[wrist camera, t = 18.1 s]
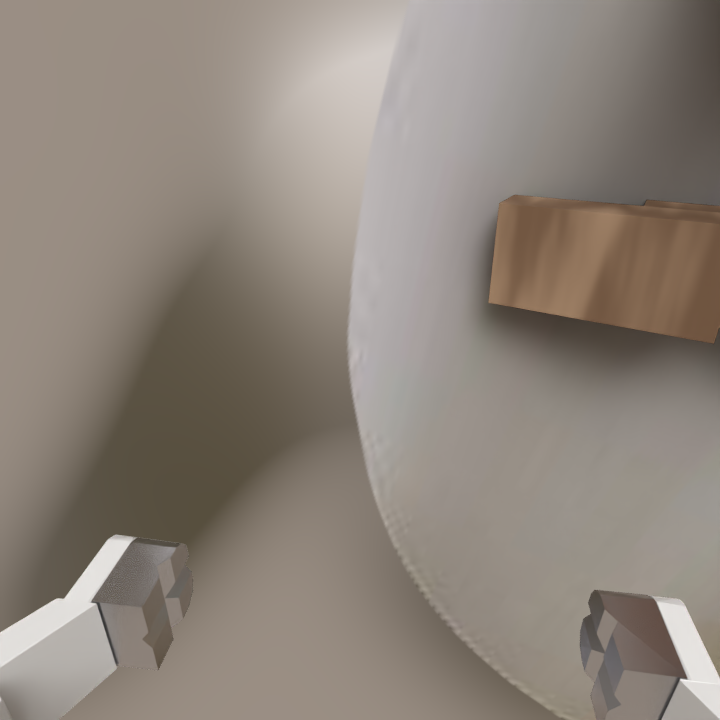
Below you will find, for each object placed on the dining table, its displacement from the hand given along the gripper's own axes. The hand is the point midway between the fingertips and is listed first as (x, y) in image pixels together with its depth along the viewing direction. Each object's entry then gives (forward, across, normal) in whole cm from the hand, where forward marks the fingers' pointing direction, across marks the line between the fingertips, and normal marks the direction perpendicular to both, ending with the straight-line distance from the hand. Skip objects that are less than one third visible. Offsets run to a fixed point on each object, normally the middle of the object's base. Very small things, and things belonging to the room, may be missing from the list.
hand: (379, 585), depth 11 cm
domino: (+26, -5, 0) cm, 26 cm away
